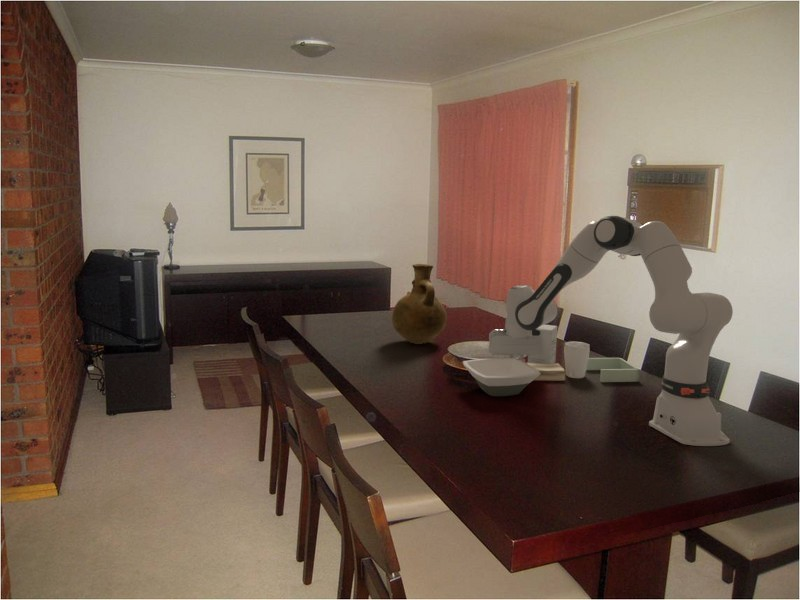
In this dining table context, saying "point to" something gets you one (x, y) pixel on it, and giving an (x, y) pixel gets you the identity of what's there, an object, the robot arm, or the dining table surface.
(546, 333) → the supplement box
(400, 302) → the vase
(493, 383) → the bowl
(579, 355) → the cup
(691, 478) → the dining table surface
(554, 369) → the board
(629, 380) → the tray
